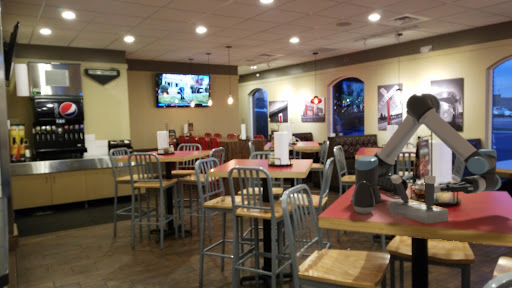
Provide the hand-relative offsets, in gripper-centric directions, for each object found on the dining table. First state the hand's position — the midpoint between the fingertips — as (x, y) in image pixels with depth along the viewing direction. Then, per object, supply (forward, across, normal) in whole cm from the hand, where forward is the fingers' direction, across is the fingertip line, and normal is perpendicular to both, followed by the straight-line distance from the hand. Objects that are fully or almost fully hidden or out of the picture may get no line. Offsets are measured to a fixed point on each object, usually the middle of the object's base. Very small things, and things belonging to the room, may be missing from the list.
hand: (433, 189), depth 168 cm
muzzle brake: (-27, +58, -14) cm, 66 cm away
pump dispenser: (+18, +24, -14) cm, 33 cm away
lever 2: (+1, +1, -8) cm, 8 cm away
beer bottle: (-44, +51, -14) cm, 69 cm away
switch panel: (+1, +8, -13) cm, 15 cm away
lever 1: (+1, +15, -8) cm, 17 cm away
